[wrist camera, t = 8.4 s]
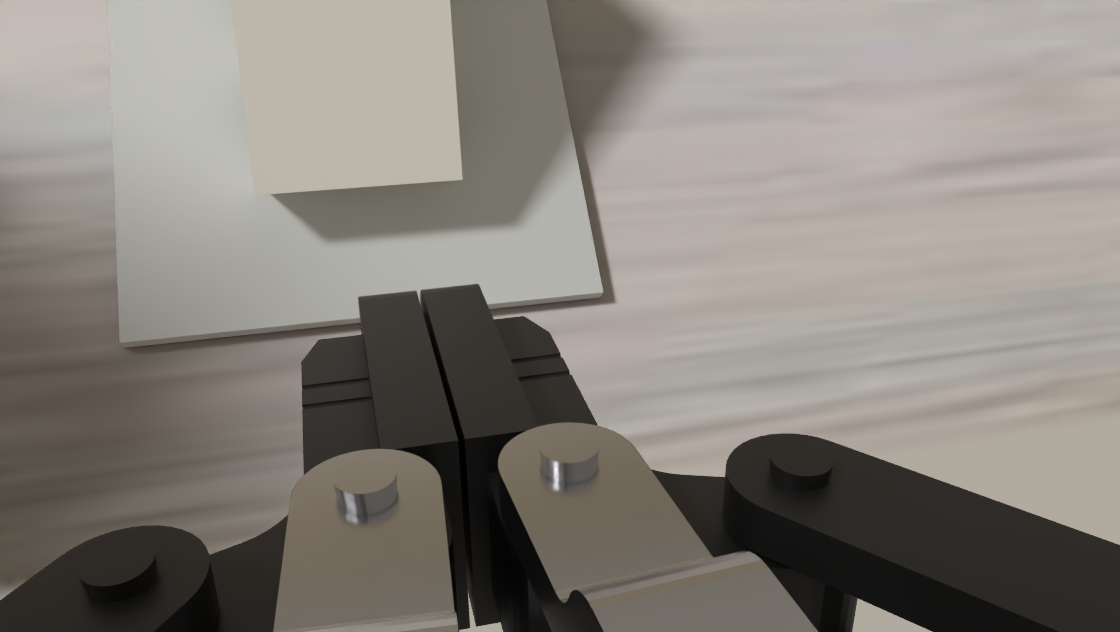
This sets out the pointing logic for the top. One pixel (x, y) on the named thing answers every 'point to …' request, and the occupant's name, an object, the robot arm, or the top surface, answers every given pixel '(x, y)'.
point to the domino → (347, 93)
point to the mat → (339, 214)
